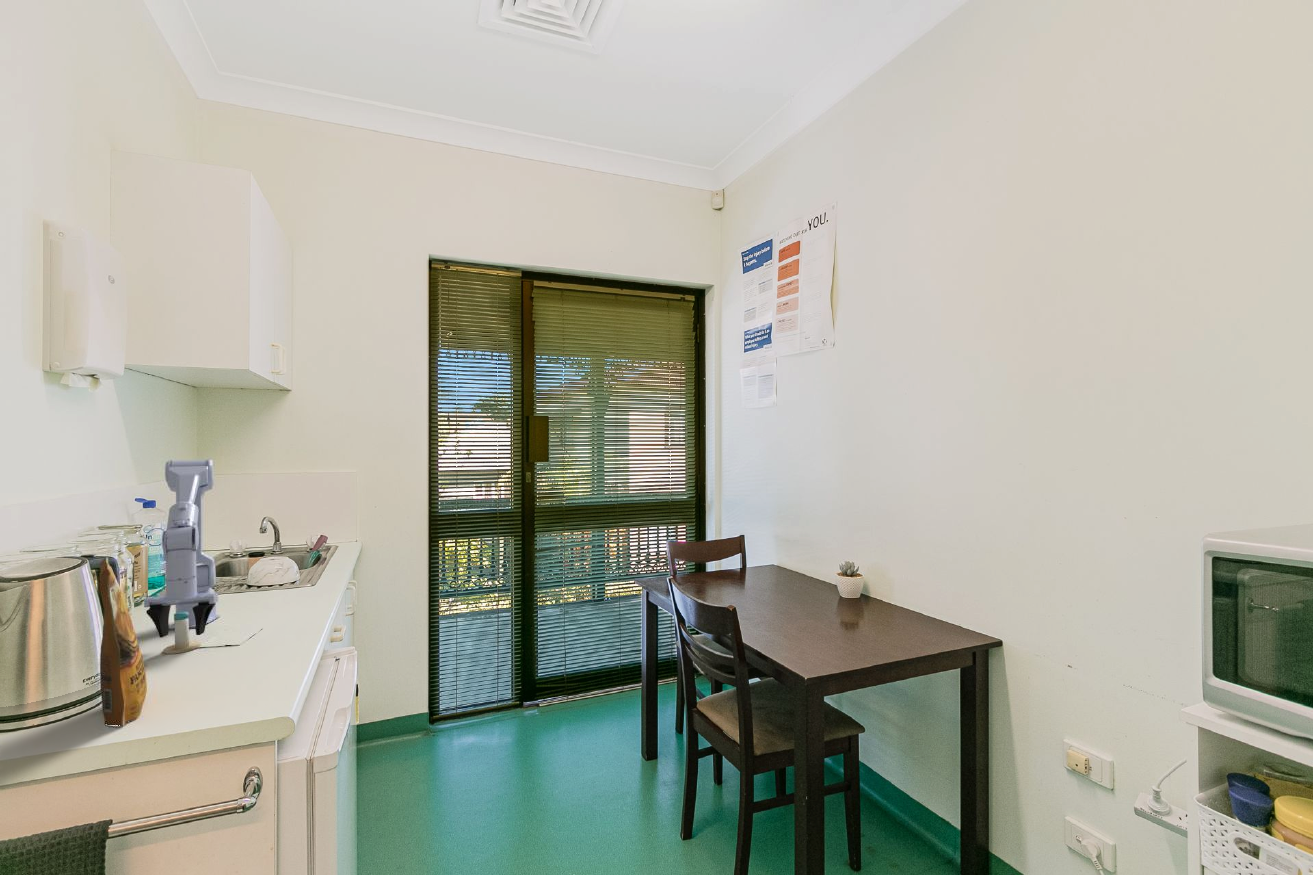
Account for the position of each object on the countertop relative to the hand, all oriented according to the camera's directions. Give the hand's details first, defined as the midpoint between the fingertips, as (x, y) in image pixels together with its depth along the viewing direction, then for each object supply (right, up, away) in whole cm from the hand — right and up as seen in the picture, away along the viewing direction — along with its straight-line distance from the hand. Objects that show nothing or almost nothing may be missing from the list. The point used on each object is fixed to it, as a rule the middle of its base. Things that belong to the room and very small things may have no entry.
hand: (182, 635), depth 141 cm
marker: (0, -3, 0) cm, 3 cm away
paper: (+7, -3, +7) cm, 10 cm away
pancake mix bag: (+14, -4, -32) cm, 35 cm away
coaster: (0, -3, 0) cm, 3 cm away
